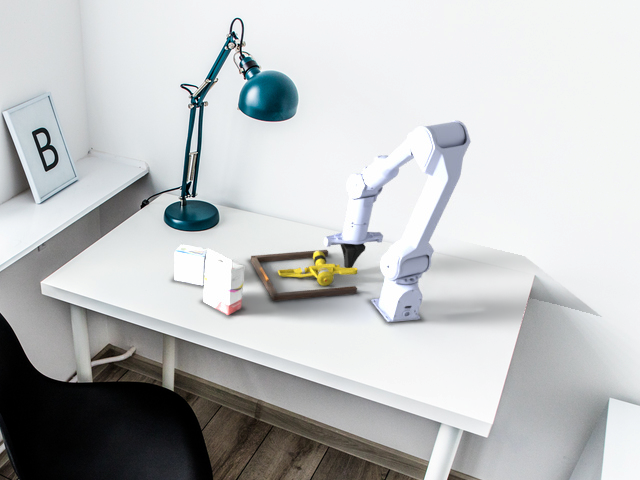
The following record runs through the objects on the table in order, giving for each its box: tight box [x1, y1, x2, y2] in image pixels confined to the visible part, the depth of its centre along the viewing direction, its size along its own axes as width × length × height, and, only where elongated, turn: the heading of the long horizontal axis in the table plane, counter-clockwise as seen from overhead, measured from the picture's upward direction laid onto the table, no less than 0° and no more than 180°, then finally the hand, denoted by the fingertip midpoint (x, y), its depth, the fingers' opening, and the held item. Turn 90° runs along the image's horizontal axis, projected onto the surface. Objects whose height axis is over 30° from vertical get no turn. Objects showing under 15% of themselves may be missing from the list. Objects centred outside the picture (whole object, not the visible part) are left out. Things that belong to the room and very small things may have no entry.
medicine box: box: [174, 243, 209, 287], centre depth 166 cm, size 8×4×9 cm, turn 65°
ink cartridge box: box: [203, 248, 245, 316], centre depth 154 cm, size 9×5×15 cm, turn 40°
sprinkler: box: [277, 249, 358, 287], centre depth 169 cm, size 19×4×15 cm
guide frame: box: [250, 249, 358, 302], centre depth 168 cm, size 20×21×2 cm
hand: (347, 267), depth 169 cm, fingers closed
